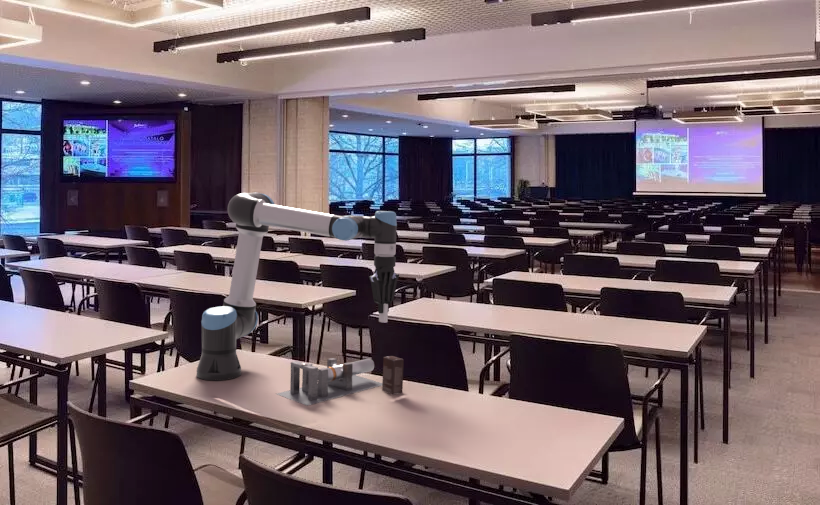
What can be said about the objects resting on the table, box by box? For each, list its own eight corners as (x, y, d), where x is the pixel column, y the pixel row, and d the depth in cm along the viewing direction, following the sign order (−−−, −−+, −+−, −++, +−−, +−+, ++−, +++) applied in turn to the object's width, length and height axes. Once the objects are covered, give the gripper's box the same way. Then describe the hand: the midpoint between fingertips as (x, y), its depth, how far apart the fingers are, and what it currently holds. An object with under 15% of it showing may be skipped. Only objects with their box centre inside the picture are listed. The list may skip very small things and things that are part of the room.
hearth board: (275, 396, 218) (275, 393, 218) (353, 376, 243) (353, 374, 243) (307, 408, 208) (307, 405, 208) (385, 386, 233) (385, 384, 233)
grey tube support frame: (326, 384, 230) (327, 359, 229) (332, 383, 232) (332, 357, 231) (346, 391, 224) (347, 364, 223) (352, 389, 225) (352, 363, 224)
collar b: (302, 390, 222) (302, 364, 222) (307, 389, 224) (308, 363, 223) (321, 397, 216) (322, 370, 215) (327, 396, 218) (328, 369, 217)
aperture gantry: (290, 393, 219) (290, 361, 218) (296, 391, 221) (296, 360, 220) (311, 400, 212) (312, 367, 211) (317, 399, 214) (318, 366, 213)
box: (403, 394, 224) (404, 358, 223) (392, 397, 221) (393, 360, 220) (392, 390, 229) (393, 355, 228) (381, 392, 226) (382, 356, 225)
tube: (316, 381, 223) (316, 367, 223) (365, 369, 239) (365, 357, 239) (325, 384, 220) (325, 370, 220) (374, 372, 236) (374, 359, 236)
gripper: (379, 257, 231) (377, 326, 233) (405, 255, 241) (403, 321, 243) (363, 255, 236) (362, 322, 238) (390, 253, 246) (388, 318, 248)
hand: (383, 321), depth 241 cm, fingers closed
